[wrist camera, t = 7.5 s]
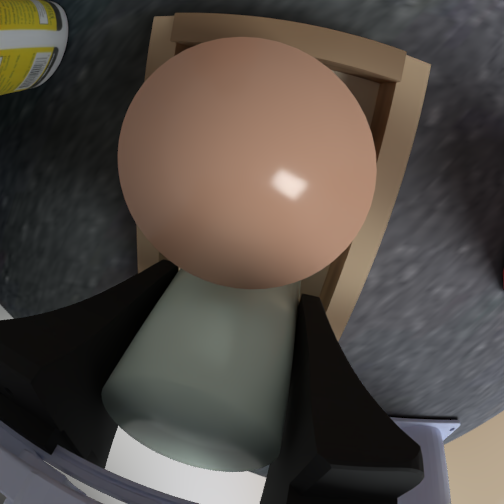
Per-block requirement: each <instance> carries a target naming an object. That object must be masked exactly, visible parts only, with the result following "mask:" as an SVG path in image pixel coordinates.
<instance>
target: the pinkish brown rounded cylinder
mask: <svg viewBox="0 0 504 504" xmlns="http://www.w3.org/2000/svg"><path fill="white" fill-rule="evenodd" d="M118 172H119V178H120V184H121V188H122V192H123V195H124V199H125V201H126V203H127V206H128V208H129V211H130V213H131V215H132V217H133V218H134V220H135V222H136V224H137V226H138V227H139V228H140V230H141V231H142V233H143V234H144V235H145V237H146V238H147V239H148V240H149V241H150V243H151V244H152V245H153V246H154V247H155V248H156V249H157V250H158V251H159V252H160V253H161V254H162V255H163V256H165V257H166V258H167V259H168V260H170V261H171V262H172V263H174V264H175V265H176V266H178V267H179V268H181V269H183V270H185V271H186V272H188V273H190V274H192V275H194V276H196V277H198V278H201V279H203V280H205V281H208V282H211V283H215V284H218V285H222V286H227V287H232V288H240V289H267V288H274V287H280V286H284V285H288V284H291V283H295V282H297V281H300V280H302V279H305V278H307V277H309V276H311V275H313V274H315V273H317V272H318V271H320V270H322V269H323V268H325V267H326V266H327V265H329V264H330V263H331V262H333V261H334V260H335V259H336V258H337V257H338V256H339V255H340V254H341V253H342V252H343V251H345V250H346V249H347V247H348V246H349V245H350V243H351V242H352V241H353V240H354V238H355V237H356V236H357V234H358V232H359V230H360V229H361V227H362V225H363V223H364V222H365V219H366V217H367V214H368V212H369V209H370V207H371V204H372V200H373V195H374V191H375V185H376V174H377V166H376V151H375V146H374V141H373V137H372V133H371V130H370V127H369V125H368V122H367V119H366V116H365V115H364V113H363V111H362V109H361V107H360V105H359V103H358V102H357V100H356V98H355V97H354V96H353V94H352V93H351V92H350V90H349V89H348V88H347V86H346V85H345V84H344V83H343V82H342V81H341V80H340V79H339V78H338V77H337V76H336V75H335V74H334V73H333V72H332V71H331V70H330V69H329V68H328V67H326V66H325V65H324V64H322V63H321V62H320V61H318V60H317V59H315V58H314V57H312V56H310V55H308V54H307V53H305V52H303V51H301V50H299V49H297V48H294V47H292V46H289V45H286V44H283V43H281V42H277V41H273V40H268V39H263V38H255V37H231V38H221V39H216V40H212V41H208V42H204V43H201V44H198V45H196V46H193V47H191V48H188V49H186V50H184V51H182V52H181V53H179V54H177V55H175V56H174V57H172V58H170V59H169V60H168V61H166V62H165V63H164V64H163V65H161V66H160V67H159V68H158V69H156V70H155V71H154V72H153V74H152V75H151V76H150V77H149V78H148V79H147V80H146V81H145V82H144V84H143V85H142V86H141V88H140V89H139V90H138V92H137V93H136V95H135V97H134V98H133V100H132V102H131V104H130V106H129V108H128V110H127V113H126V115H125V118H124V121H123V124H122V128H121V132H120V137H119V145H118Z"/></svg>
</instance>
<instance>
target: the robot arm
mask: <svg viewBox="0 0 504 504" xmlns="http://www.w3.org/2000/svg"><path fill="white" fill-rule="evenodd" d="M177 273H178V266H176V265H175V264H174V263H172V262H171V261H168V260H164V259H163V260H161V261H159V262H157V263H156V264H154V265H152V266H150V267H149V268H147V269H145V270H143V271H142V272H140V273H138V274H136V275H135V276H133V277H131V278H129V279H127V280H126V281H124V282H122V283H120V284H118V285H116V286H114V287H112V288H110V289H108V290H106V291H104V292H102V293H100V294H98V295H96V296H93V297H91V298H89V299H86V300H84V301H81V302H78V303H76V304H73V305H70V306H67V307H64V308H60V309H57V310H54V311H51V312H47V313H43V314H38V315H34V316H29V317H23V318H17V319H10V320H0V492H1V493H2V494H3V495H4V496H6V499H5V501H4V503H3V504H102V503H100V502H98V501H96V500H94V499H92V498H90V497H88V496H86V494H85V493H84V492H82V491H81V490H79V489H78V488H77V487H75V486H74V485H73V484H72V483H71V482H70V481H69V480H68V479H67V478H66V476H65V475H63V474H61V473H60V472H59V471H57V470H56V469H54V468H53V467H51V466H50V465H48V464H47V463H46V462H48V463H49V464H51V465H52V466H54V467H56V468H57V469H59V470H61V471H62V472H64V473H66V474H68V475H70V476H71V477H73V478H75V479H77V480H79V481H80V482H82V483H84V484H86V485H88V486H90V487H92V488H94V489H96V490H98V491H100V492H102V493H105V494H107V495H109V496H111V497H113V498H116V499H118V500H120V501H123V502H125V503H127V504H198V503H195V502H191V501H188V500H184V499H181V498H178V497H175V496H171V495H168V494H165V493H163V492H160V491H157V490H154V489H151V488H148V487H146V486H143V485H141V484H138V483H135V482H133V481H131V480H128V479H126V478H123V477H121V476H118V475H116V474H114V473H112V472H110V471H107V470H105V466H106V462H107V458H108V455H109V452H110V448H111V445H112V442H113V439H114V436H115V433H116V431H117V428H118V424H117V423H116V422H115V421H114V420H113V419H112V418H111V416H110V415H109V413H108V412H107V410H106V409H105V406H104V404H103V401H102V394H101V393H102V389H103V387H104V385H105V383H106V382H107V380H108V379H109V377H110V375H111V374H112V372H113V370H114V369H115V367H116V366H117V364H118V362H119V361H120V359H121V358H122V356H123V354H124V353H125V351H126V350H127V348H128V347H129V345H130V343H131V342H132V340H133V339H134V337H135V336H136V334H137V333H138V331H139V330H140V328H141V326H142V325H143V323H144V322H145V320H146V319H147V317H148V316H149V314H150V313H151V311H152V310H153V308H154V307H155V305H156V304H157V302H158V301H159V299H160V298H161V296H162V295H163V293H164V292H165V290H166V289H167V287H168V286H169V284H170V283H171V281H172V280H173V278H174V277H175V276H176V274H177ZM460 424H461V423H460V420H432V419H410V418H395V417H389V416H388V415H387V414H386V413H385V412H384V411H383V410H382V408H381V407H380V406H379V405H378V404H377V402H376V401H375V400H374V399H373V397H372V396H371V395H370V394H369V392H368V391H367V390H366V388H365V387H364V386H363V384H362V383H361V381H360V380H359V378H358V377H357V375H356V374H355V372H354V370H353V369H352V367H351V365H350V364H349V362H348V360H347V358H346V356H345V355H344V353H343V351H342V349H341V347H340V345H339V343H338V341H337V338H336V336H335V334H334V332H333V330H332V327H331V325H330V323H329V320H328V318H327V315H326V313H325V310H324V307H323V304H322V302H321V299H320V298H319V297H316V296H312V295H308V294H303V293H302V296H301V299H300V302H299V307H298V317H297V326H296V336H295V345H294V354H293V362H292V370H291V378H290V386H289V393H288V401H287V408H286V415H285V422H284V428H283V435H282V442H281V448H280V453H279V455H278V457H277V458H276V460H275V461H274V462H272V463H271V464H270V466H269V470H268V474H267V478H266V482H265V486H264V490H263V494H262V497H261V501H260V504H451V499H450V489H449V480H448V472H447V465H446V458H445V452H444V445H443V440H444V439H446V438H447V437H448V436H449V435H450V434H451V433H452V432H453V431H455V430H456V429H457V428H458V427H459V426H460ZM43 460H44V461H46V462H44V461H43Z"/></svg>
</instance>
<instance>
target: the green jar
mask: <svg viewBox="0 0 504 504" xmlns="http://www.w3.org/2000/svg"><path fill="white" fill-rule="evenodd" d="M300 287H301V280H300V281H297V282H295V283H291V284H288V285H284V286H280V287H274V288H267V289H240V288H232V287H227V286H222V285H218V284H215V283H211V282H208V281H205V280H203V279H201V278H198V277H196V276H194V275H192V274H190V273H188V272H186V271H185V270H183V269H181V268H180V270H179V271H178V273H177V274H176V276H175V277H174V278H173V280H172V281H171V283H170V284H169V286H168V287H167V289H166V290H165V292H164V293H163V295H162V296H161V298H160V299H159V301H158V302H157V304H156V305H155V307H154V308H153V310H152V311H151V313H150V314H149V316H148V317H147V319H146V320H145V322H144V323H143V325H142V326H141V328H140V330H139V331H138V333H137V334H136V336H135V337H134V339H133V340H132V342H131V343H130V345H129V347H128V348H127V350H126V351H125V353H124V354H123V356H122V358H121V359H120V361H119V362H118V364H117V366H116V367H115V369H114V370H113V372H112V374H111V375H110V377H109V379H108V380H107V382H106V383H105V385H104V387H103V389H102V393H101V394H102V401H103V404H104V406H105V409H106V410H107V412H108V413H109V415H110V416H111V418H112V419H113V420H114V421H115V422H116V423H117V424H118V425H119V426H120V428H122V429H123V430H124V431H125V432H126V433H127V434H129V435H130V436H131V437H133V438H134V439H135V440H137V441H138V442H140V443H141V444H143V445H145V446H146V447H148V448H150V449H151V450H153V451H155V452H157V453H159V454H161V455H163V456H166V457H168V458H170V459H173V460H176V461H178V462H181V463H184V464H187V465H191V466H194V467H199V468H203V469H209V470H215V471H225V472H242V471H251V470H256V469H259V468H263V467H265V466H267V465H269V464H271V463H272V462H274V461H275V460H276V458H277V457H278V455H279V453H280V448H281V442H282V435H283V428H284V422H285V415H286V408H287V401H288V393H289V386H290V378H291V370H292V362H293V354H294V345H295V336H296V326H297V317H298V307H299V298H300Z"/></svg>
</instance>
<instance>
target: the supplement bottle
mask: <svg viewBox="0 0 504 504" xmlns="http://www.w3.org/2000/svg"><path fill="white" fill-rule="evenodd" d="M67 40H68V21H67V16H66V14H65V11H64V10H63V8H62V7H61V6H60V5H58V4H57V3H55V2H51V1H46V0H0V95H3V94H7V93H12V92H17V91H22V90H27V89H31V88H34V87H37V86H39V85H41V84H43V83H44V82H45V81H46V80H48V79H49V78H50V77H51V75H52V74H53V73H54V72H55V70H56V69H57V67H58V66H59V64H60V62H61V60H62V57H63V55H64V52H65V49H66V45H67Z"/></svg>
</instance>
